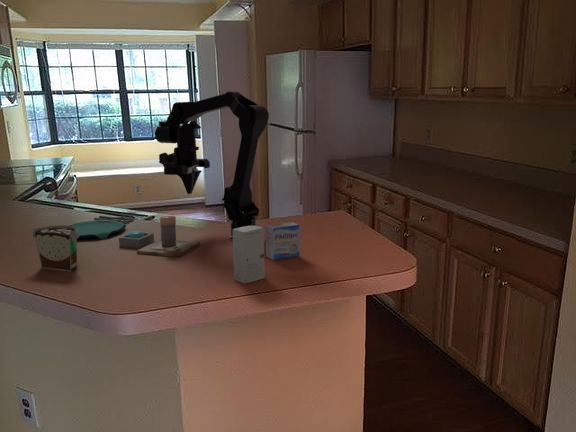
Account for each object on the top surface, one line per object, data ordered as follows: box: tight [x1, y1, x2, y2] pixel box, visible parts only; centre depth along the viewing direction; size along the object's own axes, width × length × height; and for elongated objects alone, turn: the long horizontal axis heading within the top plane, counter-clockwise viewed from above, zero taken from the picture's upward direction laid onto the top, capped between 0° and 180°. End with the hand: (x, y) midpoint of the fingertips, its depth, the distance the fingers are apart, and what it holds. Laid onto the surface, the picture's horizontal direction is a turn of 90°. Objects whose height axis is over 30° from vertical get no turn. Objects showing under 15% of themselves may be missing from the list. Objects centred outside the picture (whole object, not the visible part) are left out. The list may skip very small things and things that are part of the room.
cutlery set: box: [69, 215, 139, 240], centre depth 163 cm, size 20×30×2 cm, turn 172°
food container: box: [32, 224, 79, 272], centre depth 124 cm, size 12×6×10 cm, turn 71°
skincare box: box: [232, 225, 266, 285], centre depth 113 cm, size 6×4×12 cm
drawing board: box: [136, 238, 201, 258], centre depth 138 cm, size 13×12×1 cm
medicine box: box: [265, 221, 301, 262], centre depth 129 cm, size 8×4×9 cm, turn 118°
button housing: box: [118, 231, 155, 249], centre depth 144 cm, size 7×7×3 cm
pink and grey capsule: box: [159, 215, 177, 247], centre depth 137 cm, size 4×4×8 cm
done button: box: [127, 230, 145, 238], centre depth 143 cm, size 4×4×2 cm
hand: (189, 193), depth 155 cm, fingers closed
